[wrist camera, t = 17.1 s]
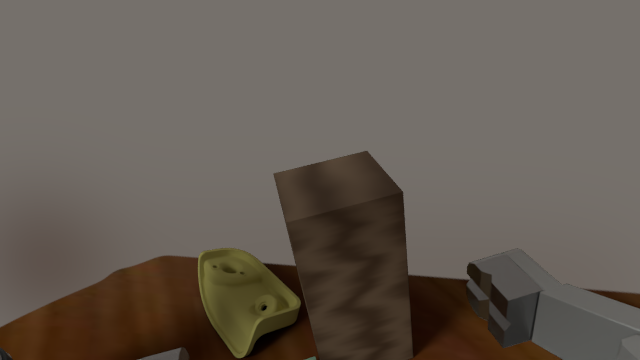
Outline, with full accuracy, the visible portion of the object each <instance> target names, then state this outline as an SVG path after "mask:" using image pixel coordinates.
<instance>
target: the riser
mask: <svg viewBox="0 0 640 360" xmlns="http://www.w3.org/2000/svg"><path fill="white" fill-rule="evenodd" d="M274 178H275V182H276V186H277V190H278V194H279V198H280V202H281V206H282V210H283V214H284V218H285V222H286V227H287V231H288V234H289V238H290V242H291V247H292V251H293V254H294V259H295V263H296V267H297V271H298V275H299V279H300V283H301V287H302V291H303V295H304V299H305V303H306V307H307V311H308V315H309V319H310V323H311V327H312V331H313V335H314V339H315V343H316V347H317V351H318V354H319V358H320V360H408V359H411V358H413V347H412V331H411V315H410V298H409V282H408V266H407V249H406V234H405V217H404V203H403V191H402V190H401V189H400V188H399V187H398V186H397V185H396V183H395V182H394V181H393V180H392V179H391V178H390V177H389V175H388V174H387V173H386V172H385V171H384V170H383V169H382V167H381V166H380V165H379V164H378V163H377V162H376V161H375V160H374V158H373V157H371V155H370V154H369V153H368V151H364V152H360V153H356V154H352V155H348V156H344V157H340V158H336V159H332V160H327V161H324V162H319V163H315V164H311V165H307V166H303V167H299V168H295V169H291V170H287V171H283V172H279V173H274Z"/></svg>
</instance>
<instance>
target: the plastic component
mask: <svg viewBox="0 0 640 360" xmlns="http://www.w3.org/2000/svg"><path fill="white" fill-rule="evenodd" d="M198 278H199V287H200V293H201V298H202V302H203V305H204V308H205V311H206V314H207V316H208V318H209V320H210V322H211V324H212V325H213V327H214V328H215V330H216V331H217V332H218V334H219V335H220V337H221V338H222V339H223V341H224V342H225V344H226V345H227V346H228V348H229V349H230V351H231V352H232V353H233V355H234V356H235V357H237V358H242V357H245V356H247V355H249V354H250V352H251V351H252V349H253V346H254V344H255V342H256V340H257V339H258V338H259V337H260V336H262V335H263V334H266V333H269V332H272V331H275V330H277V329H280V328H283V327H286V326H289V325H292V324H293V323H294V322H295V321H296V320H297V316H298V312H299V308H300V305H301V301H300V299H299V298H298V297H297V296H296V295H295V294H294V293H293V292H292V291H291V290H290V289H289V288H288V287H287V286H286V285H285V284H284V283H283V282H282V281H281V280H279V279H278V278H277V277H276V276H275V275H274V274H273V273H272V272H271V271H270V270H269V269H268V268H267V267H266V266H265V265H264V264H262V263H261V262H260V261H259V260H258V259H257V258H256V257H254V256H253V255H251V254H250V253H248V252H245V251H243V250H239V249H234V248H221V249H214V250H207V251H203V252H202V253H201V254H200V255H199V258H198ZM264 306H267V309H266V310H265V311H262V308H263V307H264Z"/></svg>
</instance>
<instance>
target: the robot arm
mask: <svg viewBox="0 0 640 360" xmlns="http://www.w3.org/2000/svg"><path fill="white" fill-rule="evenodd" d="M467 274H468V275H469V276H470V278H471V279H470V280H469V282H468V283H467V285H466V289H467V296H468V300H469V303H470V305H471V307H472V308H473V310H474V311H475V313H476V314H477V315H478V317H480V318H483V319H485V320H487V321H488V330H489V331H490V332H491V333H492V335H493V336H494V337H495V339H496V340H497V341H498V342H499V344H500V345H501V346H502V347H503V348H505V347H509V346H512V345H515V344H519V343H522V342H526V341H529V340H532V342H534V343H535V344H537V345H539V346H541V347H542V348H544V349H546V350H547V351H549V352H551V353H553V354H554V355H556V356H558V357H560V358H561V359H563V360H640V309H639V308H636V307H633V306H630V305H627V304H624V303H621V302H618V301H616V300H613V299H610V298H607V297H604V296H601V295H598V294H595V293H593V292H590V291H587V290H584V289H581V288H578V287H575V286H572V285H570V284H564V285H561V284H560V283H559V282H558V281H557V280H556V279H555V278H554V277H552V276H551V275H550V274H549V273H548V272H547V271H545V270H544V269H543V268H542V267H541V266H539V264H537V263H536V262H535V261H534V260H533V259H532V258H530V257H529V256H528V255H527V254H526V253H525V252H523V251H522V250H520V249H513V250H510V251H507V252H503V253H501V254H497V255H493V256H490V257H487V258H483V259H480V260H477V261H473V262H470V263H469V264H468V266H467ZM0 360H13V359H12V357H11V356H10V355H9V354H8V353H6V352H5V351H4V350H3V349H1V348H0ZM138 360H189V354H188V352H187V351H186V349H185V348H178V349H174V350H171V351H167V352H163V353H159V354H156V355H152V356H148V357H144V358H142V359H138Z"/></svg>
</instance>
